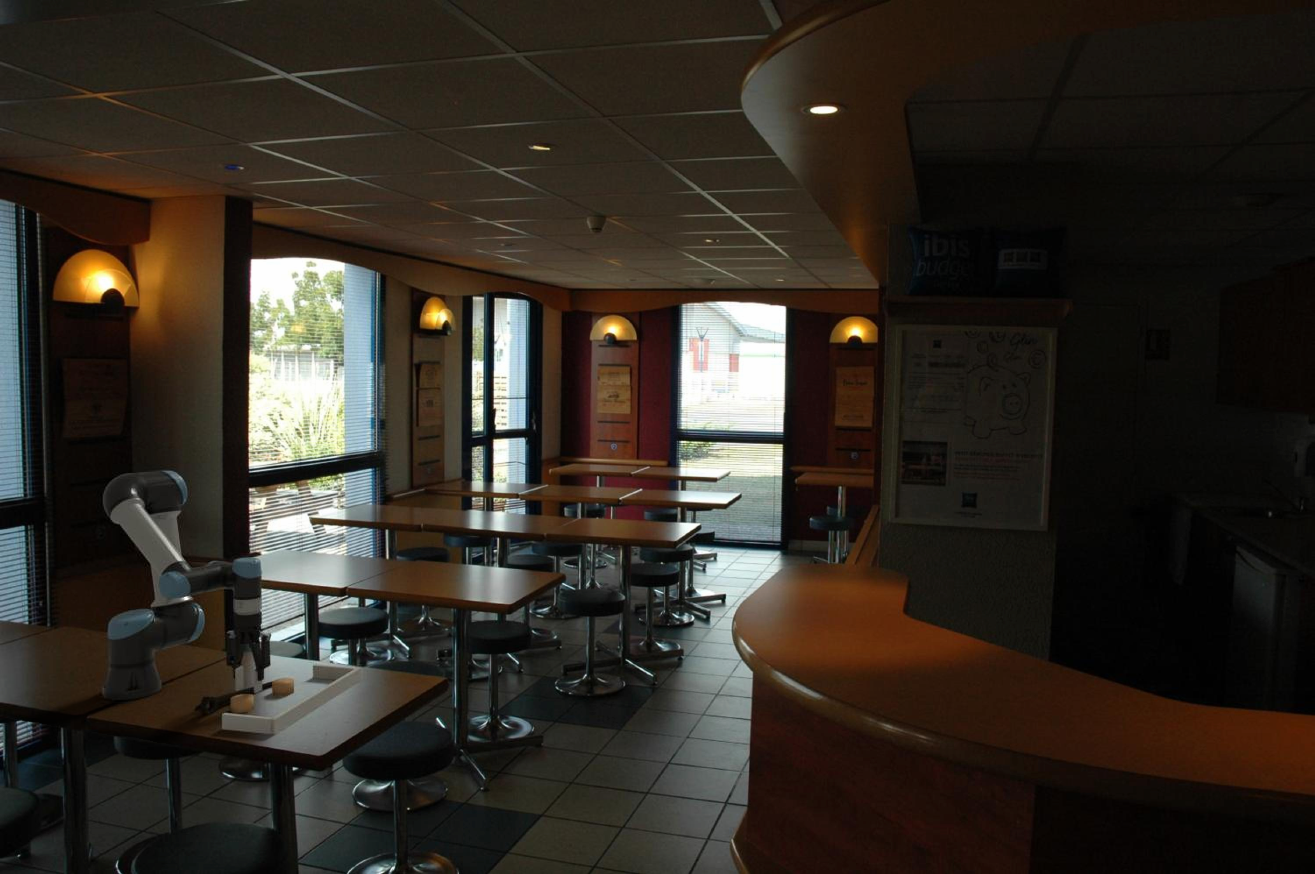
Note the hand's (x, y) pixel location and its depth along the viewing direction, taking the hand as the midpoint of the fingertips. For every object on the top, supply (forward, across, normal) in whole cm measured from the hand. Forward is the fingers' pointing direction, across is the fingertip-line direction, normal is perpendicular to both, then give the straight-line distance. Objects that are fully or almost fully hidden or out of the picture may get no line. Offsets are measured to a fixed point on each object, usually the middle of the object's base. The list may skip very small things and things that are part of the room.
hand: (248, 690), depth 263 cm
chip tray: (+3, +15, 0) cm, 15 cm away
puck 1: (+3, +4, -8) cm, 9 cm away
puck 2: (+3, +6, +7) cm, 10 cm away
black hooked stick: (+3, 0, -3) cm, 4 cm away
